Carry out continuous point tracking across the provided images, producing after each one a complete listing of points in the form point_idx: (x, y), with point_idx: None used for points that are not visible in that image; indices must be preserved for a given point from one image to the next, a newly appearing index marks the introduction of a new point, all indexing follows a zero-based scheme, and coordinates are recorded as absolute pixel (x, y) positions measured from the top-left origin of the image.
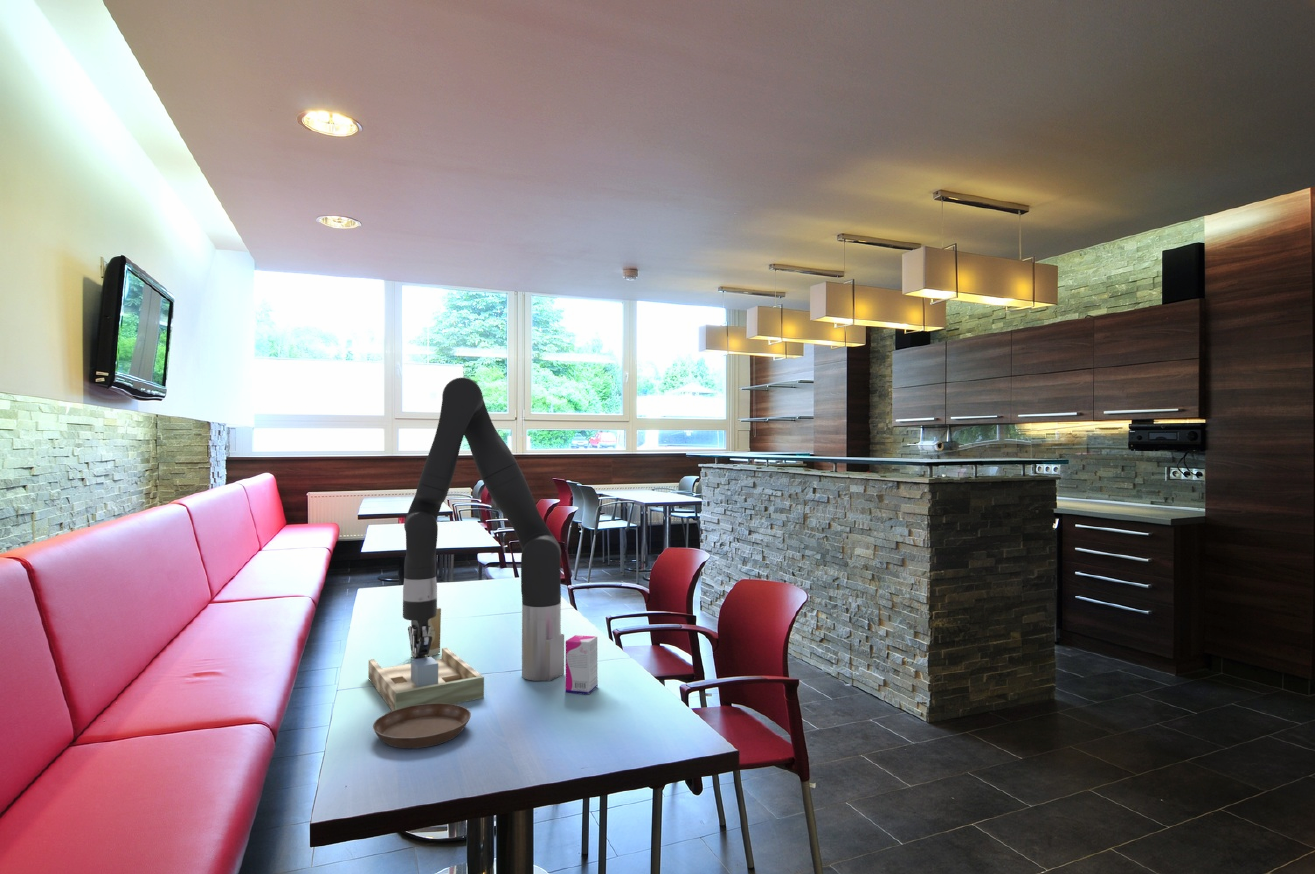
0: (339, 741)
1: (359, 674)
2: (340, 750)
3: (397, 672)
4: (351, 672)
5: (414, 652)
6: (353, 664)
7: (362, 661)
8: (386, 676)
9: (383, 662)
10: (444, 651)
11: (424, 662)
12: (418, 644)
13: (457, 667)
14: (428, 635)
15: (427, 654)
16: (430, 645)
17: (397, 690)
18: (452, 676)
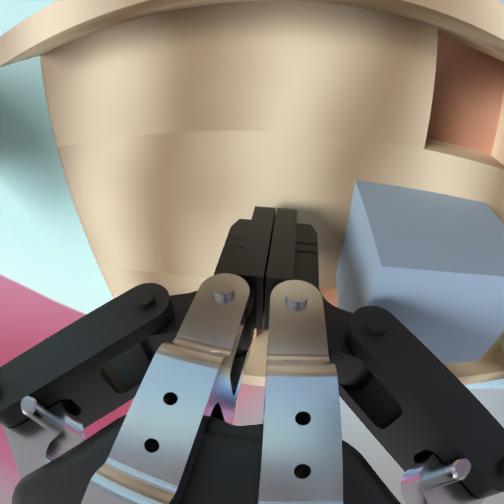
0: (480, 388)
1: (92, 304)
2: (501, 385)
3: (184, 280)
4: (76, 309)
5: (248, 352)
6: (26, 286)
7: (8, 266)
8: None
9: (9, 232)
10: (34, 46)
11: (459, 331)
12: (390, 452)
13: (381, 5)
14: (339, 489)
15: (385, 316)
16: (479, 403)
17: (499, 375)
18: (432, 76)
